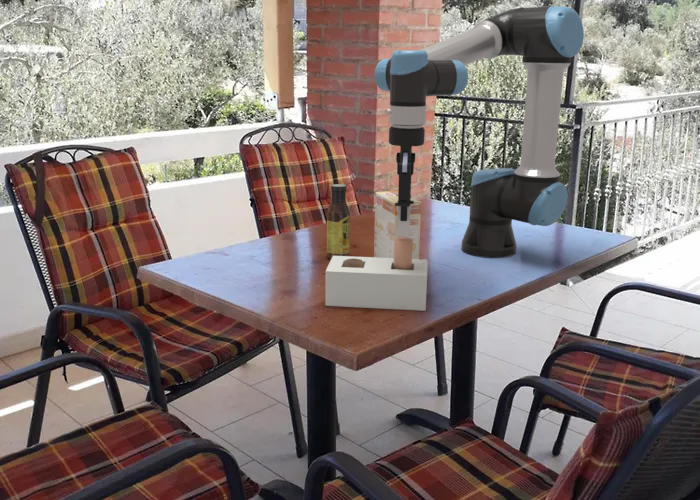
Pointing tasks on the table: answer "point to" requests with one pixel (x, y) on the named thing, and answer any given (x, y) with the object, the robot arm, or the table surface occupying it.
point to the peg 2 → (403, 253)
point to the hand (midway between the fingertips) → (403, 234)
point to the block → (376, 284)
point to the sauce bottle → (338, 223)
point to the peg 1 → (354, 263)
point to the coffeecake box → (394, 224)
